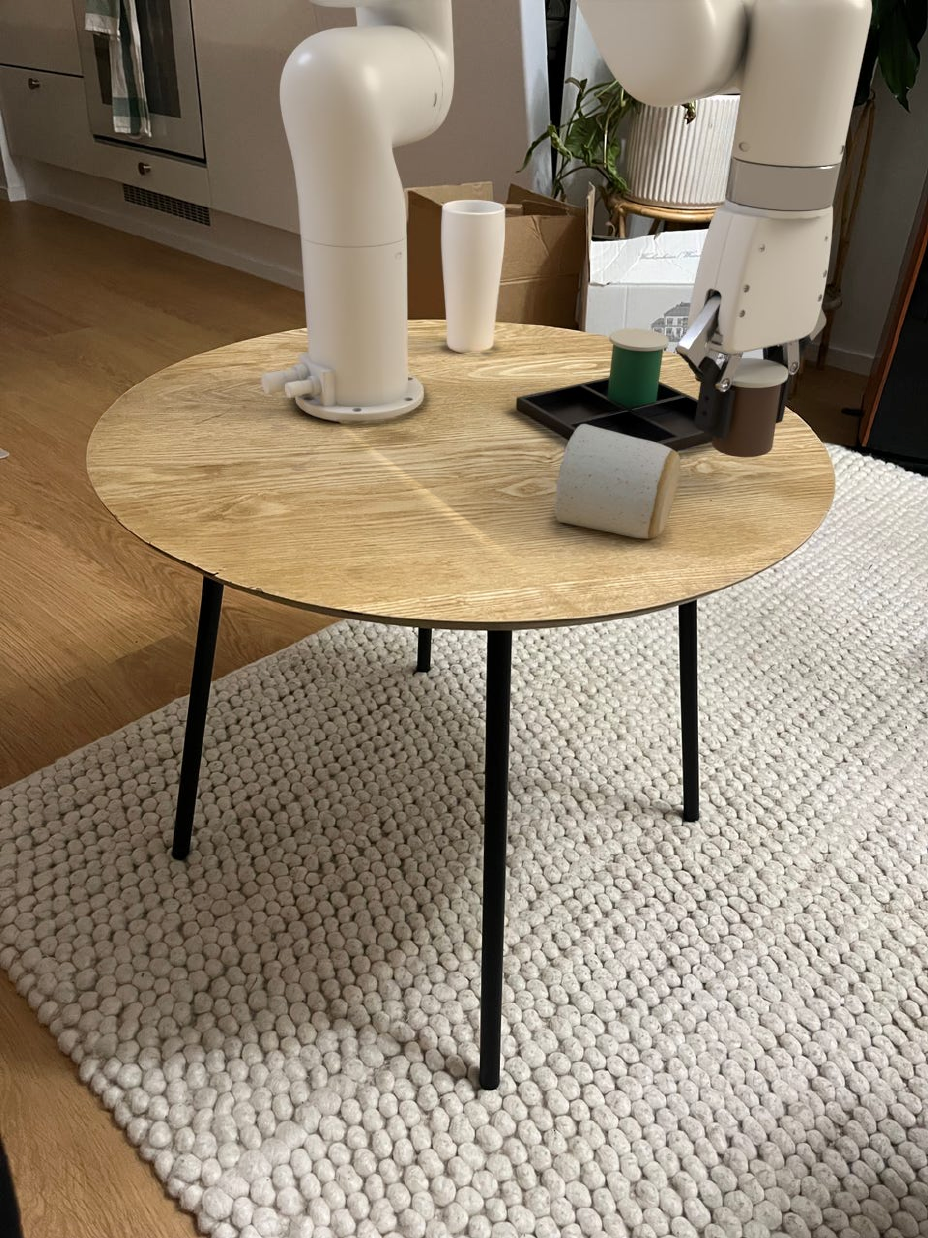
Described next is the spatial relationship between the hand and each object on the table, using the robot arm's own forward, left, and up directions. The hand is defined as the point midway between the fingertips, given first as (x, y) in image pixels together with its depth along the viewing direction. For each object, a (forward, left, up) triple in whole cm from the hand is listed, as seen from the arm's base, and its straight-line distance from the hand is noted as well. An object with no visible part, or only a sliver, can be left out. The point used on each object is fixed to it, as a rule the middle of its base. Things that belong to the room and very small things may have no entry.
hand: (738, 423), depth 81 cm
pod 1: (+5, +18, -5) cm, 19 cm away
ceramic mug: (-12, 0, -6) cm, 13 cm away
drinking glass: (0, +40, -6) cm, 41 cm away
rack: (+1, +14, -6) cm, 15 cm away
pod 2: (0, 0, -2) cm, 2 cm away
